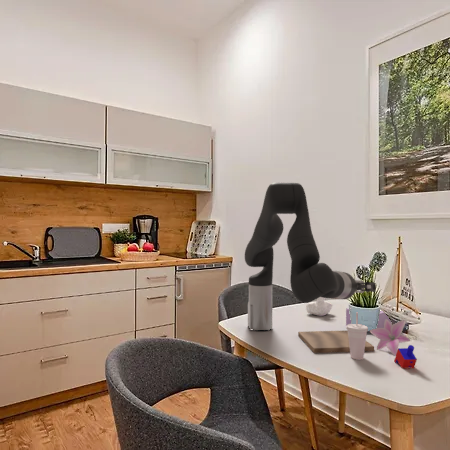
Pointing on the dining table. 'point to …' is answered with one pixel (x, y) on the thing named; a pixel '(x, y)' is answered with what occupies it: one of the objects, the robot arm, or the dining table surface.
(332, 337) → the walnut board
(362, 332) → the smoothie
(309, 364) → the dining table surface
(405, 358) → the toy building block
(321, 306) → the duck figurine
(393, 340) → the lily
